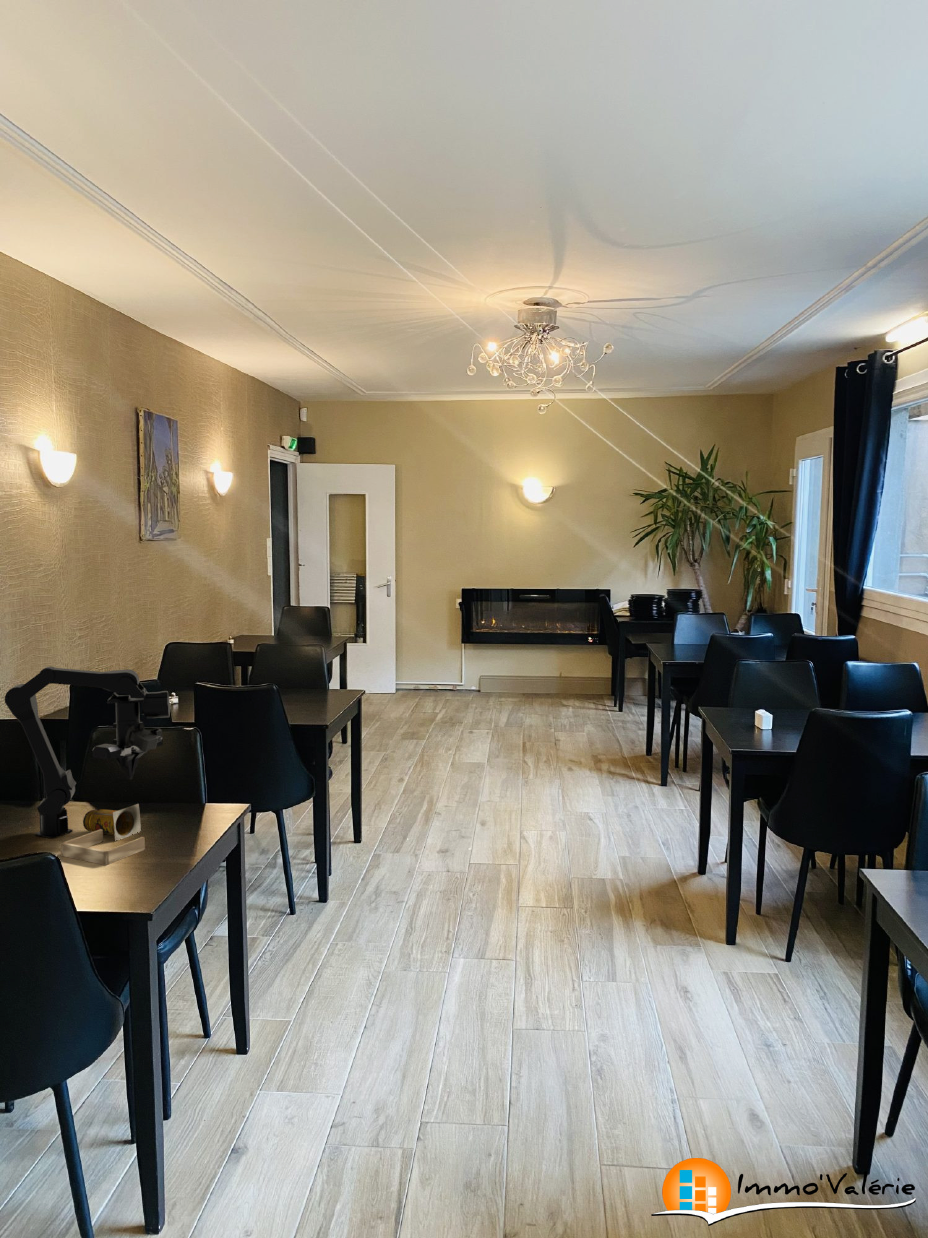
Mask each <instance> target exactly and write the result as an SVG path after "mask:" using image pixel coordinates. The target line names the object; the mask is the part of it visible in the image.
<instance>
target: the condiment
mask: <svg viewBox="0 0 928 1238" xmlns="http://www.w3.org/2000/svg"><path fill="white" fill-rule="evenodd" d="M140 814H141V812H140V805H139V803H137V804H133V805H131V806H127V807H125V808H121V809H119V810H116V809H115V810H113V809H103V808H100V809H91V810H89V811H87V812H86V813H85V815H84V816H83V819H82V823H83V824H82V825H83V827H84V830H86V831H88V832H94V831H97V830H100V829H102V830H103V835H109V836H110V835H111V836H114V841H115V842H117V841H116V840H118V841H120V839H121V840H123V839H126V838H128V837H131V836H133V835H136V834H138V833H141V832H142V830H141V829H142V828H141V827H142V826H141V815H140ZM140 831H141V832H140ZM137 832H138V833H137ZM132 834H133V835H132Z"/></svg>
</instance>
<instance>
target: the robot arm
mask: <svg viewBox="0 0 928 1238" xmlns="http://www.w3.org/2000/svg"><path fill="white" fill-rule="evenodd" d="M49 684H52V685H53V684H54V685H55V684H56V685H65V686H77V687H89V688H99V689H103V690H105V691H108V692H112V693H113V694H112V695H111V696H110V697H109V698H108V699H107V702H106V703H107V704H115V722H114V723H112V728H113V729H115V730H116V731H115V732H116V733H115V734H116V738H114V739H112V744H111V743H103V744H99V745H95V746H94V747H93V748H92V758H94V759H101V760H113V759H115V761H116V762H117V764H118V765H119V767H120V768H121V771H122V772H123V774H124V775H125V778H126V779H127V780H132V779H133V777H134V774H135V772H136V768H137V766H138V763H139V759H140V758H141V757H142V756H143V755H144V754H146V753H147V752H148V751H150V750H155V749H156V748H158V747H162V746H163V744H164V741H163V740H164V739H163V732H162V729H161V728H159V727H155V728H153V729H145V724H144V722H143V721H141V719H140V717H141V716H140V703H141V715H143V716H144V717H145V716H146V717H145V718H146V719H158V718H161V719H162V718H170V713H171V703H170V700H169V699H170V698H169V691H168V690H163V691H157V692H156V691H154V692H153V691H152V692H148V691H147V689H146V688H145V687H144V686H143V685H142V683H141V681H140V676H139V675H138V673H137V672H136V671H134V670H133V669H127V668H126V669H115V670H108V671H107V670H106V671H97V670H95V671H94V670H86V669H85V670H84V669H76V668H74V669H73V668H63V667H54V666H46V667H44V668H42V669H41V670H40V671H39V673H37V674H36V675H35V676H34V677H32V678H31V679H29V680H28V681H27V682H26V683H19V684H16V685H14V686H13V687H12V688H10V689H9V690H8V691H7V692H6V694H5V695H4V703H5V706H7V708H8V709H9V711H10V713H11V714H12V716H13V717H14V718H15V719H16V720H17V721H18V722H19V723H20V724H21V726H22V728H23V731H24V733H25V735H26V738H27V740H28V742H29V745H30V747H31V749H32V753H33V754H34V757H35V758H36V761H37V763H38V766H39V768H40V771H41V773H42V776H43V777H42V778H43V787H44V793H45V797H44V798H43V799H42V800H41V802H40V803H39V805H38V806H37V812H38V814H39V831H37V832H35V833H34V836H37V837H42V838H46V839H47V838H48V839H55V838H58V837H60V836H64V835H67V834H70V833H73V830H74V829H73V828H69V818H68V817H69V816H68V810H67V809H66V807H65V806H66V805H67V804H68V803H69V802H70V801H71V799H72V798H73V796H74V794H75V792H76V785H77V781H75V779H74V778H73V775H72V774H73V773H72V771H71V769H68V770H66V771H65V770H64V768H62V767H61V765H60V764H59V761H58V759H57V756H56V754H55V751H54V750H53V747H52V745H51V743H50V740H49V737H48V736H47V732H46V730H45V729H44V725H43V723H42V721H41V718H40V716H39V707H38V706H39V705H38V700H37V696H36V694H38V693H39V692H40V691H42V690H43V689H44V688H46V687H47V686H48V685H49ZM119 694H120V695H119Z"/></svg>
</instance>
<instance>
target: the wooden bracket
mask: <svg viewBox="0 0 928 1238" xmlns="http://www.w3.org/2000/svg"><path fill="white" fill-rule="evenodd" d="M102 841H103V842H104V834H103V830H102V829H100V830H97V831H94V832H93V831H90V832H88V833H85V834H84V835H80V836H78V837H77V836H76V837H74V838H71V839H69V840H66V841H64V842H61V843H60V856H61V857H66V858H70V859H75V860H79V861H85V862H88V863H89V862H90V863H94V864H100V865H104V866H108V865H111V864H113V863H115V862H118V861H120V860H122V859H125V858H127V857H130V856H132V855H135V854H137V853H140V852H143V851H144V850H146V841H145V836H141V837H138V838H136V839H133V840H130V841H128V842H125V843H123V844H120V845H118V846H115V847H112V848H110V849H108V850H104V849H99V848H93V846H95V845H98V844H100V843H103V842H102Z"/></svg>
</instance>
